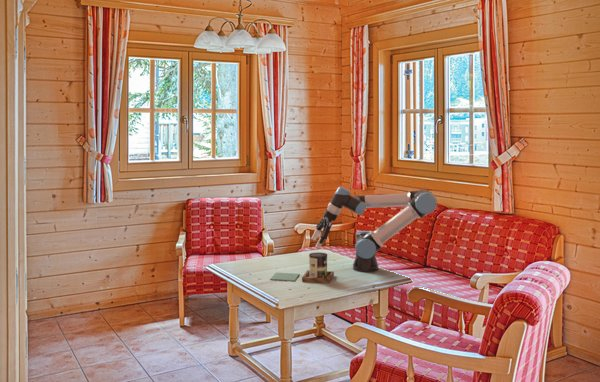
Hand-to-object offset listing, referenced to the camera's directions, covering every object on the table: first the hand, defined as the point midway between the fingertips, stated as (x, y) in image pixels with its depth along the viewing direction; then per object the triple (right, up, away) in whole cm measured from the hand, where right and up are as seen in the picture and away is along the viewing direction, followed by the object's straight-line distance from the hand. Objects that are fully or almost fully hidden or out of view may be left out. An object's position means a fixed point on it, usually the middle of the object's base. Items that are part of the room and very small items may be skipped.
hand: (315, 243), depth 341 cm
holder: (+1, -19, -9) cm, 21 cm away
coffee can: (+1, -19, -9) cm, 21 cm away
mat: (-17, -19, -6) cm, 26 cm away
